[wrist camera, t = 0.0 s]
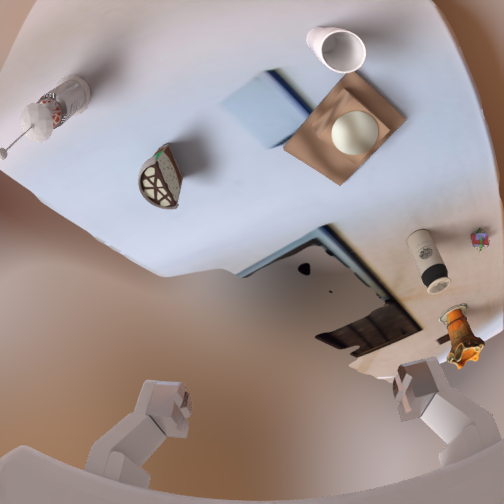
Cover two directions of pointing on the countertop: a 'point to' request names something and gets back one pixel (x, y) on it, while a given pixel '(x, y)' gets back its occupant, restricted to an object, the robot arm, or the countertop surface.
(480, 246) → the geometric puzzle
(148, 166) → the food container
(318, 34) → the drinking glass
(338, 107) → the walnut display stand
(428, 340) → the countertop surface
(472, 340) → the decorative vase
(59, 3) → the countertop surface
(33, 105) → the french press
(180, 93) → the countertop surface
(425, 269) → the travel mug
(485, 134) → the countertop surface
